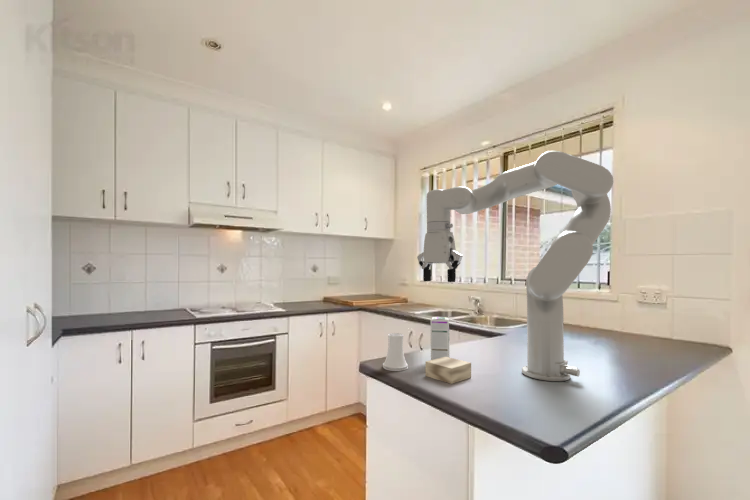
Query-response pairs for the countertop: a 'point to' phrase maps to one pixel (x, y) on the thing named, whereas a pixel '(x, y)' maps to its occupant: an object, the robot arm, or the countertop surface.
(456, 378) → the beech block
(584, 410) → the countertop surface
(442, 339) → the syrup box
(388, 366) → the white flared cylinder
